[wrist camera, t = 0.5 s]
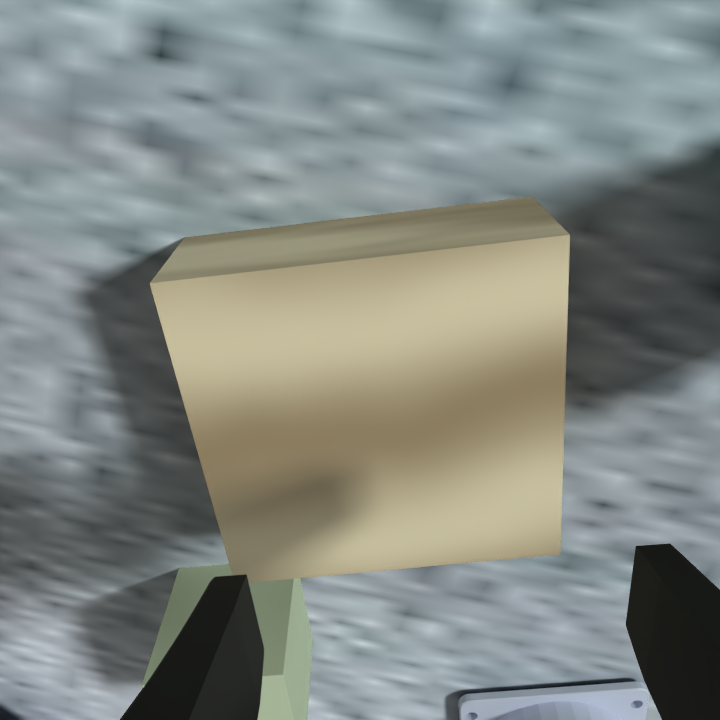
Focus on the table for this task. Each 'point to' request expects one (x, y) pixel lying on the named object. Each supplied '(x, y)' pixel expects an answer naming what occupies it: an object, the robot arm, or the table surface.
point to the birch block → (376, 386)
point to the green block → (278, 631)
